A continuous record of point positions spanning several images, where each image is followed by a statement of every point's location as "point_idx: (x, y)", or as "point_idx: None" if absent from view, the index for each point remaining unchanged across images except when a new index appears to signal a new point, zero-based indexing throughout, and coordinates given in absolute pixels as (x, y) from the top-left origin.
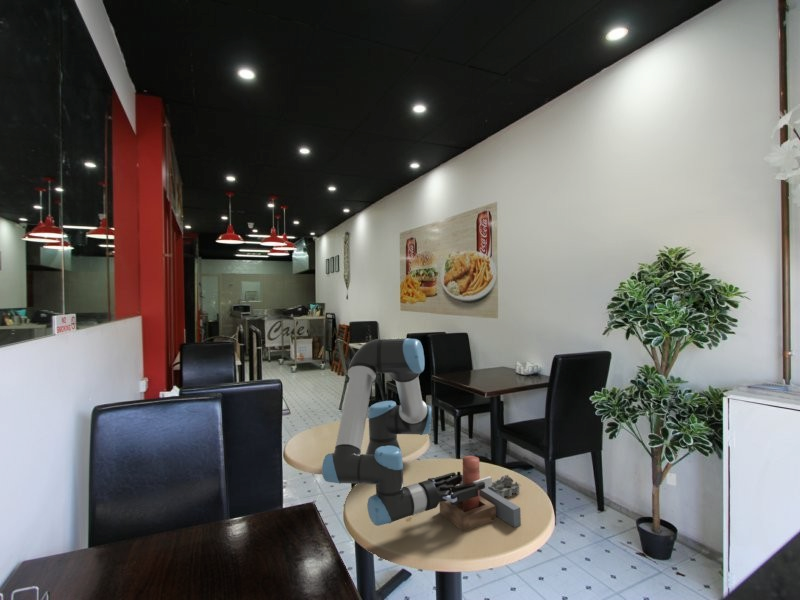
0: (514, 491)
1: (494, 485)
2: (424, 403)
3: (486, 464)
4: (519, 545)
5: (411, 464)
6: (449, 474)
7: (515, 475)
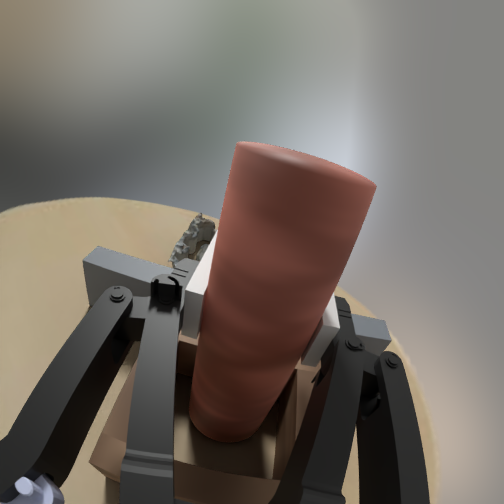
0: None
1: (186, 252)
2: None
3: (107, 198)
4: (427, 419)
5: None
6: (97, 324)
7: (184, 210)
